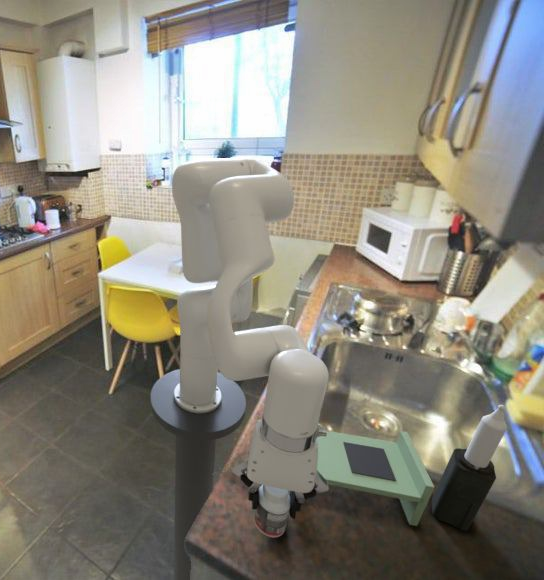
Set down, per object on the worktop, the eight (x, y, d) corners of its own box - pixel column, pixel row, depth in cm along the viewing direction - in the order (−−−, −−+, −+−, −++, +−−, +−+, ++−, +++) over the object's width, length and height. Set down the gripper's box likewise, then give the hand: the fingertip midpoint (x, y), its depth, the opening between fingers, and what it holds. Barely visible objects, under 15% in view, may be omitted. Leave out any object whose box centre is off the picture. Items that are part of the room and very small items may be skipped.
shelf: (283, 448, 79) (289, 413, 75) (393, 468, 74) (407, 431, 70) (287, 498, 69) (295, 461, 64) (417, 526, 63) (434, 487, 59)
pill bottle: (250, 508, 67) (256, 471, 63) (279, 508, 67) (287, 471, 63) (257, 538, 62) (264, 501, 58) (289, 539, 62) (298, 501, 58)
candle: (432, 517, 65) (483, 409, 54) (431, 495, 69) (478, 389, 58) (469, 533, 62) (530, 423, 52) (466, 509, 66) (522, 401, 55)
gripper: (344, 419, 56) (323, 497, 64) (230, 401, 60) (223, 476, 68) (357, 460, 49) (331, 541, 57) (227, 436, 54) (220, 514, 61)
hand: (272, 505), depth 62 cm, fingers closed on pill bottle, 5 cm apart
